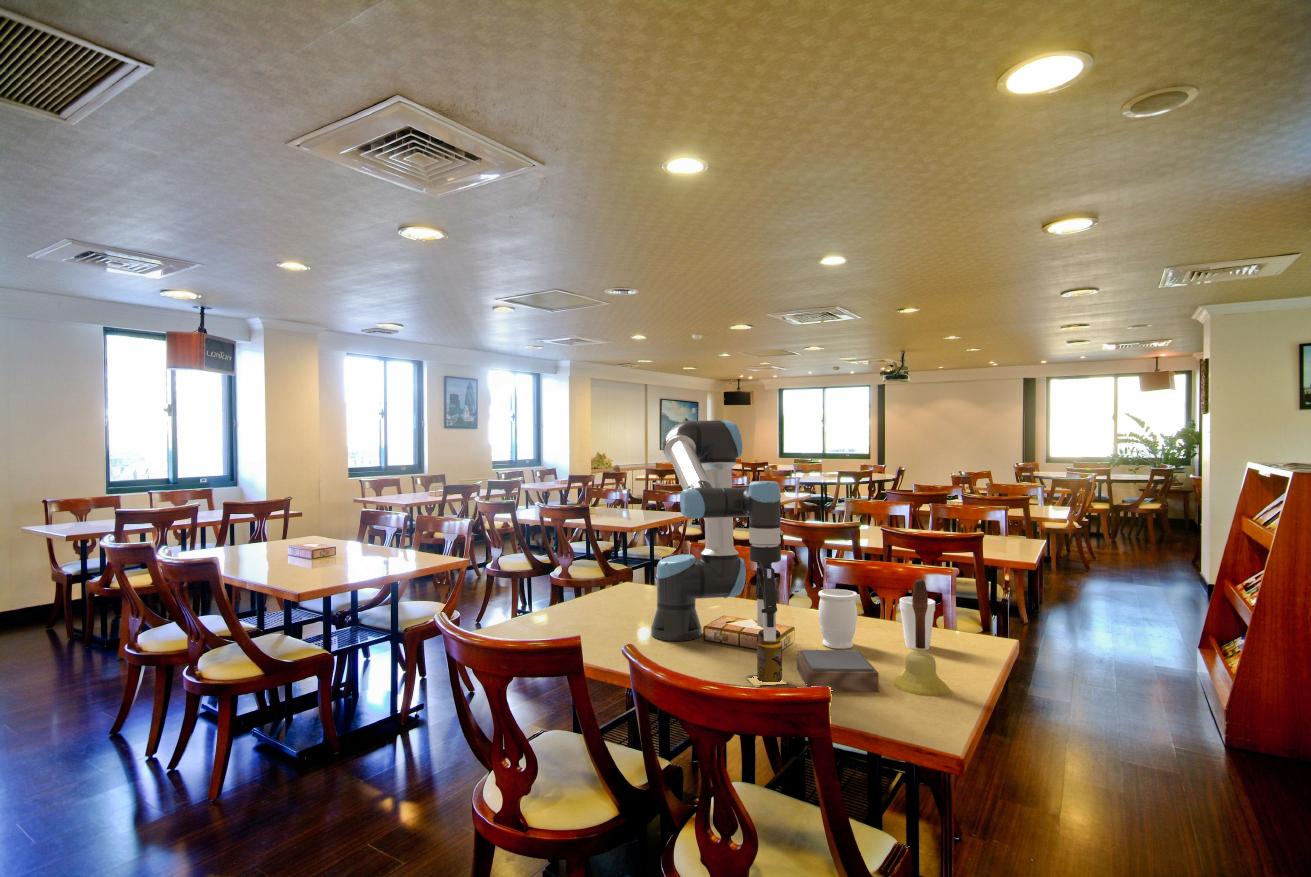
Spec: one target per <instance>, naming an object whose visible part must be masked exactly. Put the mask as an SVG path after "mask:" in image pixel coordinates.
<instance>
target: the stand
mask: <svg viewBox="0 0 1311 877" xmlns="http://www.w3.org/2000/svg"><path fill="white" fill-rule="evenodd" d="M796 670H797V671H798V673H799V675H800V677H801V679H802V681H803V683H804V682H805V683H804V685H805V684H807V685H805V687H806V686H807V687H811V686H829V687H831V690H833V692H837V693H843V692H845V693H846V692H847V693H862V692H863V693H879V691H880V690H879V686H880V685H879V684H880V683H879V680H880V679H879V675H880V674H879V672H878V671H877V669H876V668H875V667H874V666H873V664H871V662H870V661H869V660H868V659H867V657H866V656H864V654H863V653H862V652H861V651H859V650H857V649H849V650H848V649H847V650H846V649H801V650H798V651H796ZM807 687H806V688H807Z"/></svg>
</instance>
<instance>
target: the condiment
mask: <svg viewBox="0 0 1311 877" xmlns="http://www.w3.org/2000/svg"><path fill="white" fill-rule="evenodd" d="M757 639H758V641H757V643H756V674H754V675H744V677H745V679H746V678H752V677H753V676H757V677H758V678H757V679H758V680H759V681H762V682H780V681H781V680H782V679H783V643H782V642H781V641H782V640H781V631H780V630H778V629H776V641H764V628H762V629H760V630H758V638H757ZM753 678H754V677H753ZM754 687H755V688H758V687H759V686H754Z"/></svg>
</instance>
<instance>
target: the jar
mask: <svg viewBox="0 0 1311 877" xmlns="http://www.w3.org/2000/svg"><path fill="white" fill-rule="evenodd" d="M818 596H819V598H820V599H819V602H818V621H819V626H820V632H821V634H822V637H823V638H824V639H823V640H822V643H821V644H822V645H823V646H825V647H827V648H830V649H834V650H846V649H847V650H848V649H851V648H853V647H854V642H853V641H852V640H853V638H854V636H855V633H856V628H857V621H858V609H857V603H856V599H857V597H858V593H857V592H856V591H853V590H848V589H840V588H827V589H822V590H819V591H818Z"/></svg>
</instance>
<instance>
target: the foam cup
mask: <svg viewBox="0 0 1311 877" xmlns="http://www.w3.org/2000/svg"><path fill="white" fill-rule="evenodd" d="M898 601H899V609H900V616H901V622H902V624H901V625H902V629H903V630H902V631H903V637H904V643H905V647H906V648H907V649H911V650H915V647H916V637H915V613H914V610H913V605H912V596H903V597H900V598H899V600H898ZM935 612H936V601H935V600H934V599H932V598H928V608H927V612H926V615H925V648H926V651H928V650H929V649H930V646H931V638H932V630H933V624H934V616H935V615H934V614H935Z"/></svg>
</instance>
